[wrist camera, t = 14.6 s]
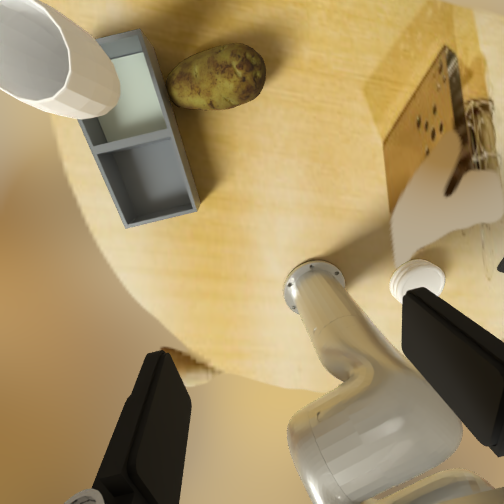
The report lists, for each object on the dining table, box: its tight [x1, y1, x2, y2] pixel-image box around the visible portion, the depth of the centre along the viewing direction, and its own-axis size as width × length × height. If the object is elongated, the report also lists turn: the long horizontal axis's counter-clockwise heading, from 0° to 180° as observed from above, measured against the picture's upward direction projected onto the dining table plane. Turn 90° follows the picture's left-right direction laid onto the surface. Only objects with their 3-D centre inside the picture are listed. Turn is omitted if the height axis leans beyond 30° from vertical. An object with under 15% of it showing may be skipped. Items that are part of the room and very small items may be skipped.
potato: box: [166, 43, 266, 110], centre depth 33 cm, size 8×13×8 cm, turn 79°
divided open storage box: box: [77, 29, 201, 229], centre depth 36 cm, size 22×11×6 cm, turn 12°
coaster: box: [389, 259, 445, 304], centre depth 52 cm, size 10×10×4 cm
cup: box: [0, 0, 120, 119], centre depth 26 cm, size 7×7×21 cm
